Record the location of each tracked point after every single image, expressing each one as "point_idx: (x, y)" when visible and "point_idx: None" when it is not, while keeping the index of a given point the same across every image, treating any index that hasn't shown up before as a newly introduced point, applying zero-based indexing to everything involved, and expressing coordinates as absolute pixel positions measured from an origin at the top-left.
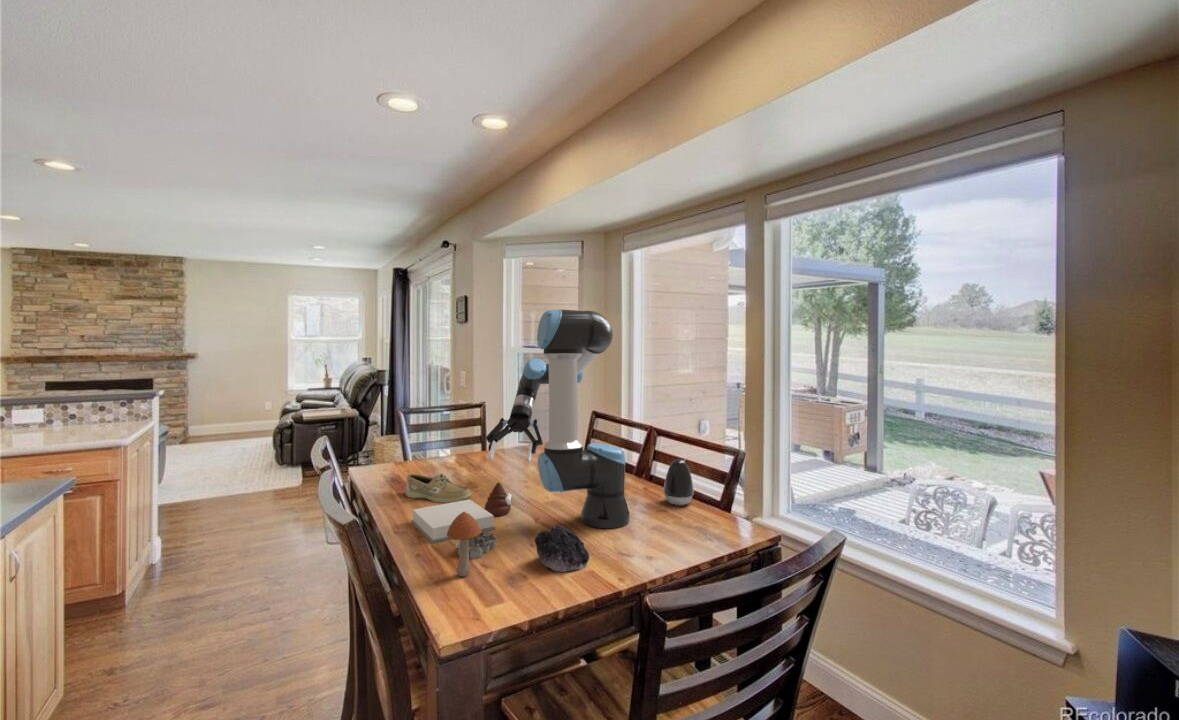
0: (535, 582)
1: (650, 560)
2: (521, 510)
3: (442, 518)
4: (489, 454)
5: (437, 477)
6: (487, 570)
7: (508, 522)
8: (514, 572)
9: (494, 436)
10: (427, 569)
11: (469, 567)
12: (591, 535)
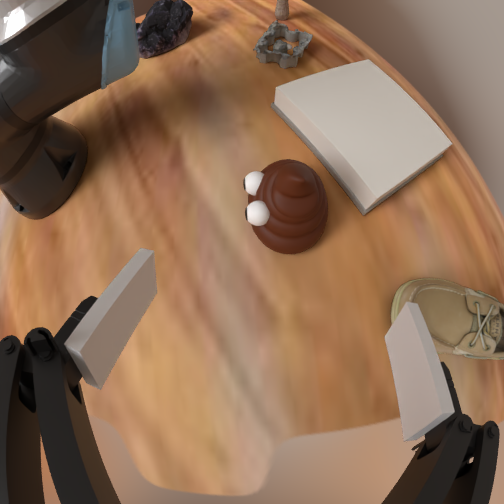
0: (199, 13)
1: None
2: (216, 219)
3: (377, 89)
4: (418, 314)
5: (496, 322)
6: (255, 22)
7: (245, 138)
8: (222, 20)
9: (459, 453)
10: (328, 29)
11: (275, 12)
12: (94, 104)
